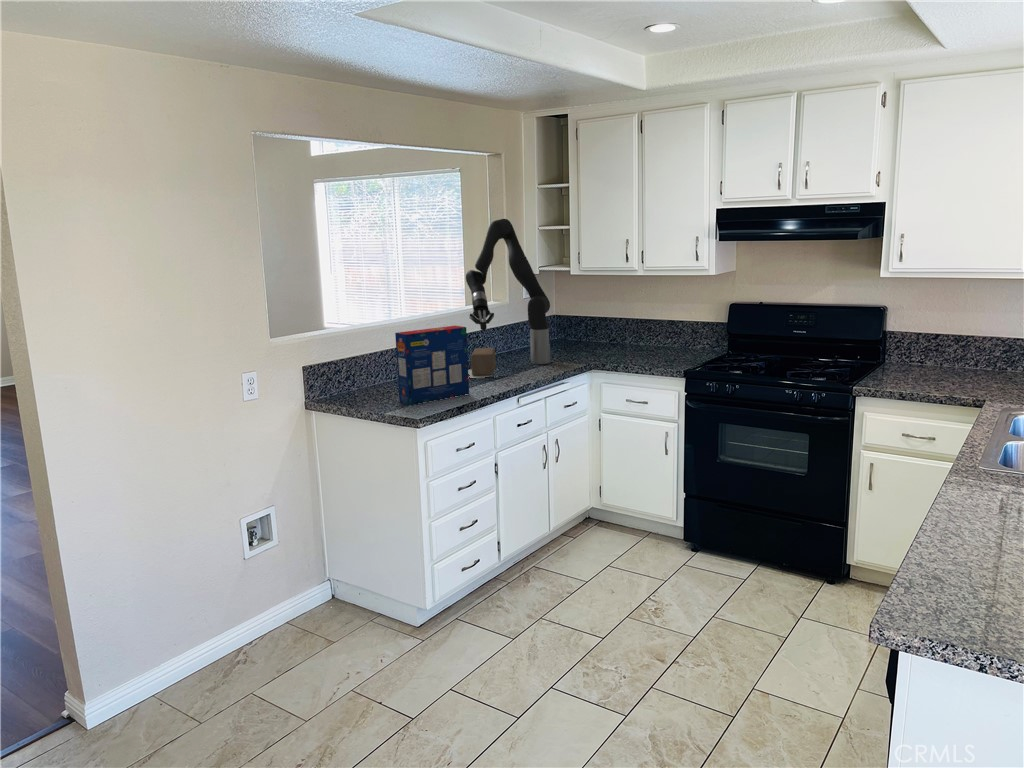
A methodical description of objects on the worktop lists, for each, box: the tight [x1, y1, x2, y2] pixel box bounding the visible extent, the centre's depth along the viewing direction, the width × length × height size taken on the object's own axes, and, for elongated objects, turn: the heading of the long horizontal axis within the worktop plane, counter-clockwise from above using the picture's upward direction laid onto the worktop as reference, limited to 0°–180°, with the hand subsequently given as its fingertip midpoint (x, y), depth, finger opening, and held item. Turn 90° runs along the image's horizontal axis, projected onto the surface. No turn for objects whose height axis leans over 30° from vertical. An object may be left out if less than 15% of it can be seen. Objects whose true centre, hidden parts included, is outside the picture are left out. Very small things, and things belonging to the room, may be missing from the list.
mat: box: [468, 368, 499, 379], centre depth 361 cm, size 22×22×1 cm
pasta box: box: [394, 325, 470, 406], centre depth 308 cm, size 28×8×28 cm, turn 127°
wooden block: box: [470, 347, 497, 376], centre depth 362 cm, size 10×10×20 cm
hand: (483, 329), depth 379 cm, fingers closed
